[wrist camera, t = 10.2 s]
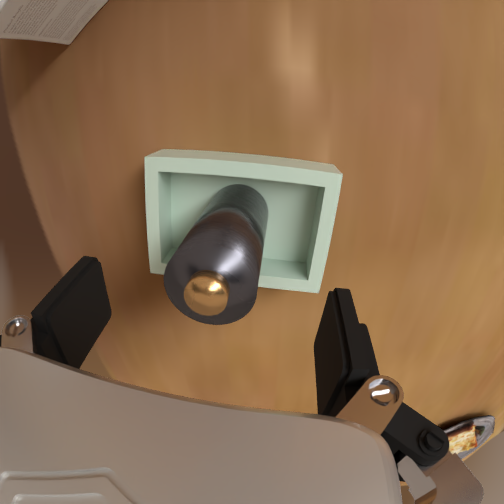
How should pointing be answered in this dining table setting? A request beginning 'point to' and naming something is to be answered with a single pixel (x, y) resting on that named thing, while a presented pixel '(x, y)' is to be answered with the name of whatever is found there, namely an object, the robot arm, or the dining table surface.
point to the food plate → (469, 435)
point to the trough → (273, 191)
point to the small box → (46, 19)
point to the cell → (220, 258)
